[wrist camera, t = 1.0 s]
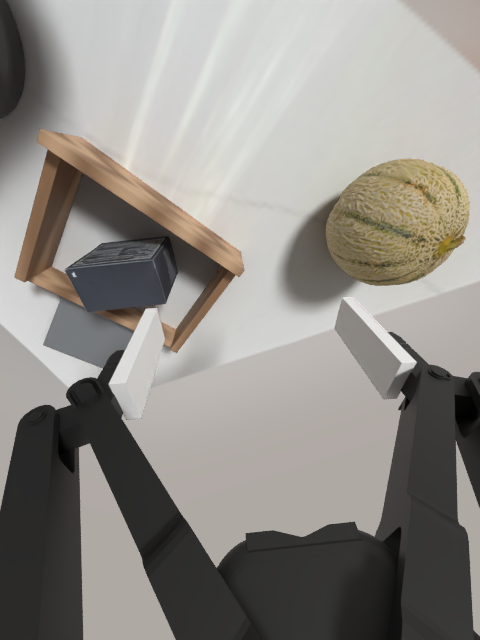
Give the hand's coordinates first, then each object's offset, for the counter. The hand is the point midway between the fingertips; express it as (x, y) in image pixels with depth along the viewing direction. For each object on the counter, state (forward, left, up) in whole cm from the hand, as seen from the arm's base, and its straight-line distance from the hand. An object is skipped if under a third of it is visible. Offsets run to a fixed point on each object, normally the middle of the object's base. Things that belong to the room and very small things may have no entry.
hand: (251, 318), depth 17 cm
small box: (-10, -12, -24) cm, 28 cm away
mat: (-10, -31, -23) cm, 40 cm away
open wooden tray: (-10, -12, -23) cm, 28 cm away
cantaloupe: (+14, +13, -23) cm, 30 cm away
